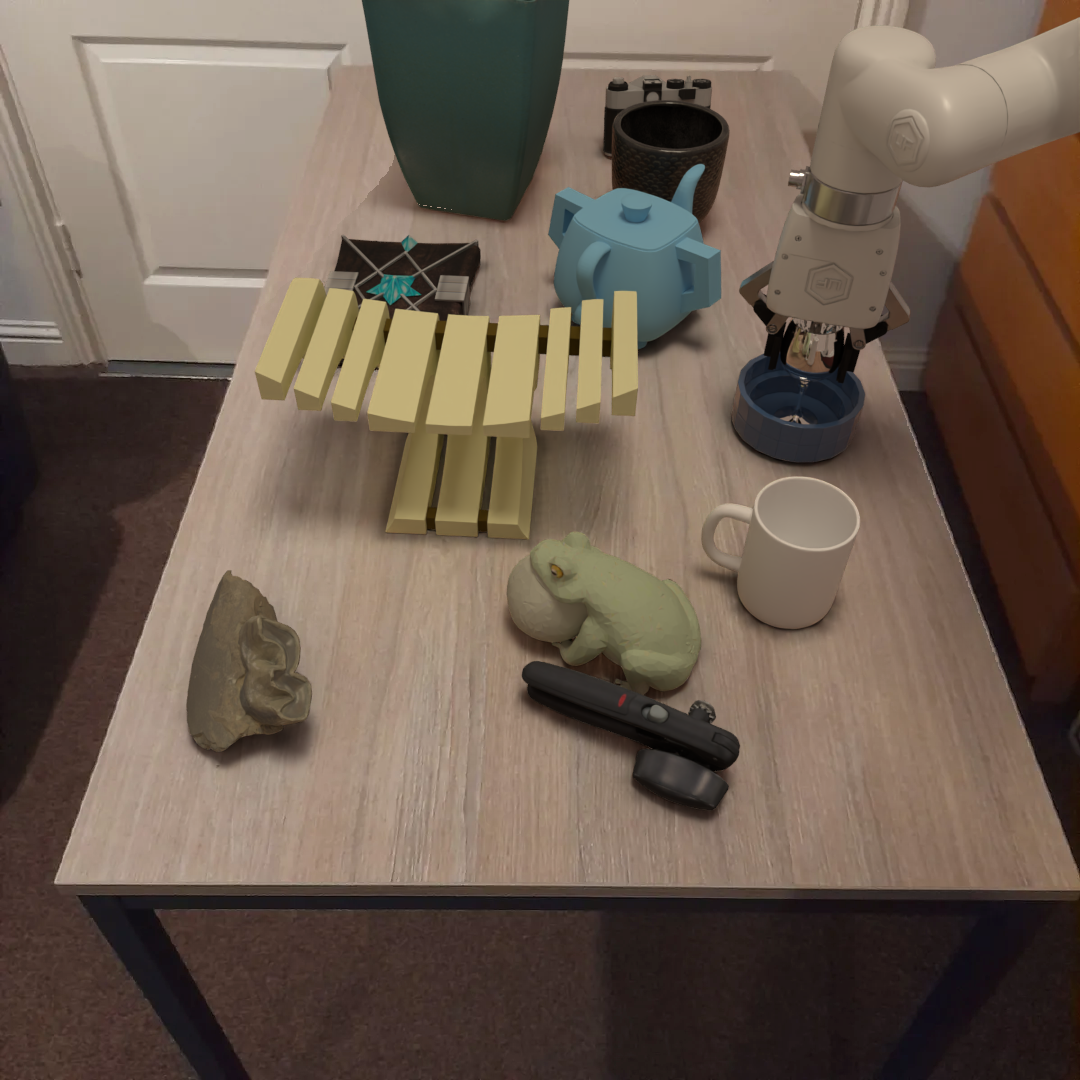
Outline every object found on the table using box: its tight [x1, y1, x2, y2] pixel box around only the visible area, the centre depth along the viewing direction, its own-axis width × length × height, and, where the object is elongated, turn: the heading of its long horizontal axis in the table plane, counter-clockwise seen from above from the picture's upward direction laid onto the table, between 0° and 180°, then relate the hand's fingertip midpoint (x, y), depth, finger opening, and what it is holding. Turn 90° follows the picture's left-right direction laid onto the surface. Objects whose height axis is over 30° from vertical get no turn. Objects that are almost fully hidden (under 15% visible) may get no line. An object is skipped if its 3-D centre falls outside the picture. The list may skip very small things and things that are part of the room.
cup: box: [700, 475, 861, 630], centre depth 83 cm, size 8×12×10 cm
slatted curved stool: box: [254, 277, 639, 540], centre depth 90 cm, size 30×16×18 cm, turn 87°
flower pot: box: [361, 0, 570, 222], centre depth 123 cm, size 20×20×28 cm
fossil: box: [185, 569, 313, 753], centre depth 76 cm, size 14×10×10 cm
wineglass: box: [774, 318, 845, 424], centre depth 97 cm, size 6×6×12 cm
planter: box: [611, 100, 731, 224], centre depth 124 cm, size 14×14×13 cm
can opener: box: [521, 660, 741, 812], centre depth 75 cm, size 18×7×6 cm, turn 58°
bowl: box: [730, 353, 866, 463], centre depth 100 cm, size 12×12×5 cm
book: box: [323, 234, 482, 364], centre depth 113 cm, size 22×17×5 cm
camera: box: [602, 74, 713, 157], centre depth 140 cm, size 15×11×10 cm
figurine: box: [506, 530, 702, 696], centre depth 79 cm, size 10×16×10 cm, turn 66°
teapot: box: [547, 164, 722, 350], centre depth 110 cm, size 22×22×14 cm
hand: (807, 366), depth 96 cm, fingers closed on wineglass, 5 cm apart
